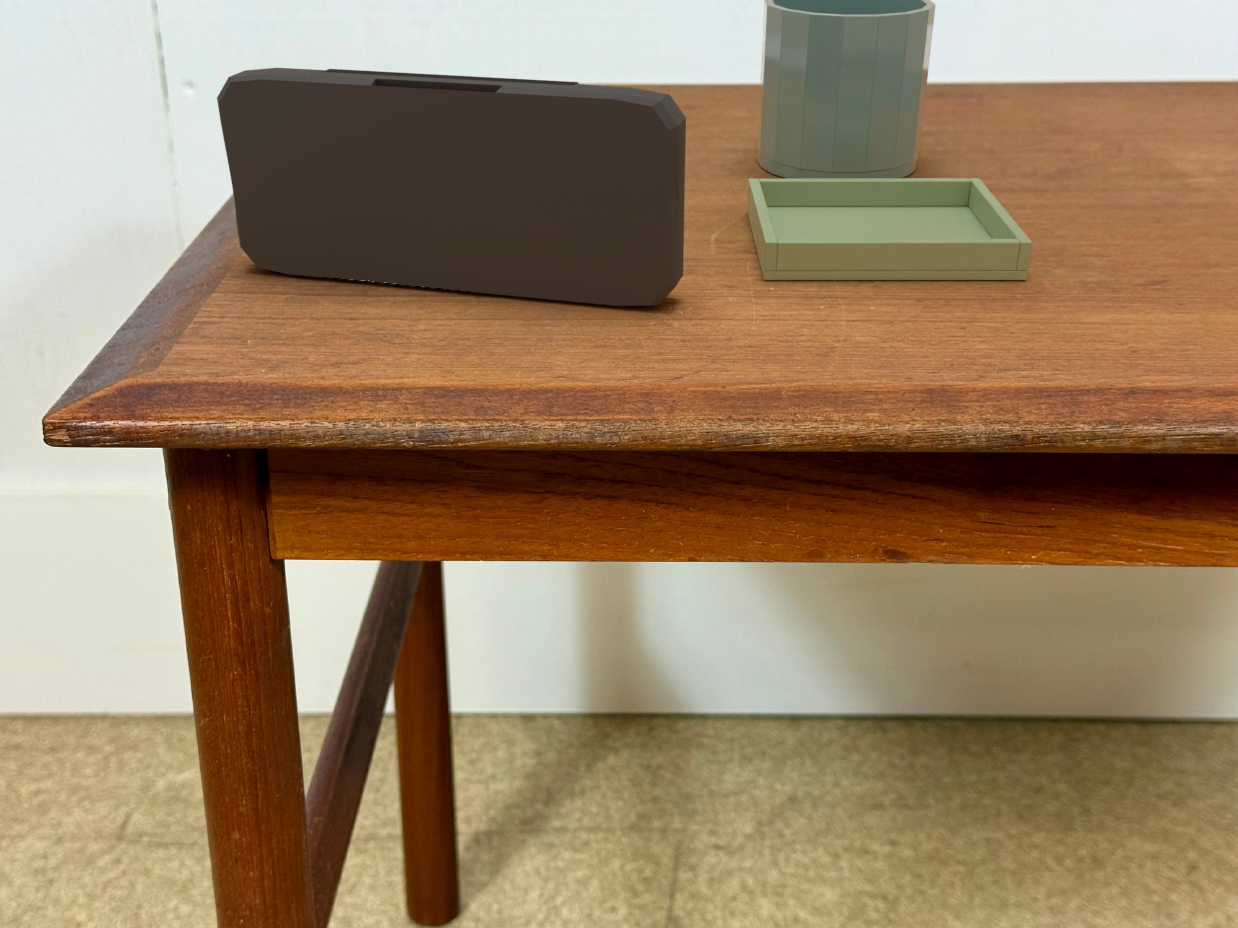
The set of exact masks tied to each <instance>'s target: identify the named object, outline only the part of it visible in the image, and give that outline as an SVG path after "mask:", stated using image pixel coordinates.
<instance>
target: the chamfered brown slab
mask: <svg viewBox="0 0 1238 928" xmlns="http://www.w3.org/2000/svg"><path fill="white" fill-rule="evenodd" d="M216 102H217V107H218V114H219V120H220V126H221V131H222V137H223V143H224V149H225V153H226V154H225V155H226V159H227V165H228V169H229V175H230V181H231V188H232V193H233V200H234V208H235V223H236V230H237V237H238V243H239V247H240V249H241V250H242V251H243V252H244V254H245V255H246V256H247V257H248V258H249V259H250V261H251V262H252V263H253V264H254V266H256V268H258V269H263V270H268V271H272V272H277V273H281V274H286V275H292V276H301V275H302V276H303V277H311V278H321V277H329V278H328V279H332V278H344V279H349V280H348V281H351V280H350V279H353V280H365V281H368V280H369V281H374V282H383V283H382V284H384V282H387V283H396V284H401V285H400V286H405V285H410V286H409V287H413V286H412V285H415V286H424V287H423V288H426V287H429V288H428V289H436V288H444V289H443V290H447V289H449V290H448V291H457V290H460V291H459V292H467V291H470V292H469V293H479V294H487V295H488V294H489V295H499V296H500V295H501V296H510V297H520V298H521V297H522V298H531V299H541V300H553V301H561V302H573V303H583V304H584V303H585V304H593V305H594V304H595V305H606V306H613V307H614V306H615V307H642V306H643V307H647V306H650V307H651V306H660V305H661V304H662V302H663V301H664V300H666V298H667V297H668V296H669V295H670V294H671V292H672V291H673V290H674V289H675V288H676V287H677V286H678V284H679V282H680V281H681V280H682V278H683V276H684V254H685V253H684V251H685V250H684V249H685V248H684V246H685V244H684V243H685V242H684V241H685V191H686V189H685V186H686V142H687V141H686V140H687V138H686V137H687V117H686V115H685V114H684V112H683V111H682V110H681V108H680V107H679V106H678V104H677V103H676V101H675V100H674V99H673V97H672V96H671V94H669V93H663V92H659V91H653V90H648V89H643V88H638V87H637V88H636V87H628V86H627V87H625V86H611V85H609V86H608V85H596V84H585V83H584V84H583V83H579V82H578V81H567V80H565V81H564V80H547V79H546V80H545V79H544V80H543V79H527V78H507V77H491V76H474V75H473V76H472V75H470V76H469V75H455V74H454V75H453V74H435V73H434V74H433V73H417V72H415V73H414V72H399V71H398V72H397V71H396V72H395V71H376V70H362V69H361V70H360V69H358V70H357V69H340V68H339V69H338V68H328V69H310V68H309V69H307V68H292V67H291V68H290V67H270V68H269V67H268V68H258V69H247V70H246V69H245V70H243V71H240V72H237V73H235V74H233V75H230V76H228V77H227V79H226V81H225V83H224V85H223V86H222V88H221V90H220V91H219V93H218V95H217V97H216ZM353 280H352V281H353ZM374 282H373V283H374ZM415 286H414V287H415Z"/></svg>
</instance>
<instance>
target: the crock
mask: <svg viewBox="0 0 1238 928" xmlns="http://www.w3.org/2000/svg"><path fill="white" fill-rule="evenodd" d="M935 13H936V3H934V2H933V1H932V0H764V2H763V19H762V20H763V23H762V43H761V65H760V84H759V85H760V87H759V104H758V105H759V106H758V109H759V110H758V125H757V126H758V127H757V150H758V151H757V163H758V165H759V166H760V167H761V168H762V170H765V171H766V172H768V173H769V174H772V175H775V176H778V177H781V178H783V179H797V178H907V177H908V176H910V175H911V174H913V173H914V172H915V170H916V169H917V163H918V157H919V156H920V152H921V151H920V150H921V141H922V132H923V122H924V112H925V106H926V105H925V104H926V95H927V87H928V77H929V68H930V59H931V58H930V57H931V50H932V41H933V31H934V22H935Z"/></svg>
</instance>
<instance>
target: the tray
mask: <svg viewBox="0 0 1238 928" xmlns="http://www.w3.org/2000/svg"><path fill="white" fill-rule="evenodd" d="M746 208H747V209H746V212H747V216H748V217H747V218H748V221H749V226H750V230H751V233H752V238H753V241H754V246H755V250H756V254H757V258H758V263H759V267H760V270H761V274H762V277H763V281H1027V279H1028V273H1029V267H1030V260H1031V254H1032V249H1033V248H1032V247H1033V241H1032V240H1031V239H1030V238H1029V237H1028V235H1027V234H1026V233H1025V232H1024V230H1023V229H1022V228H1021V227H1020V226H1019V224H1018V223H1017V222H1016V221H1015V220H1014V218H1013V217H1012V216H1011V214H1010V213H1009V212H1008V211H1007V210H1006V208H1005V207H1004V206H1003V205H1002V203H1001V202H1000V201H999V200H998V199H997V198H996V196H995V195H994V194H993V193H992V191H991V190H990V189H989V187H987V186H986V184H985V183H984V182H983V181H982V180H981V179H980V178H979V177H970V178H968V177H966V178H965V177H955V178H954V177H948V178H947V177H945V178H944V177H931V178H930V177H927V178H926V177H925V178H923V177H920V178H919V177H917V178H916V177H910V178H909V177H903V178H797V179H787V178H756V177H755V178H748V179H747V205H746Z"/></svg>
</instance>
